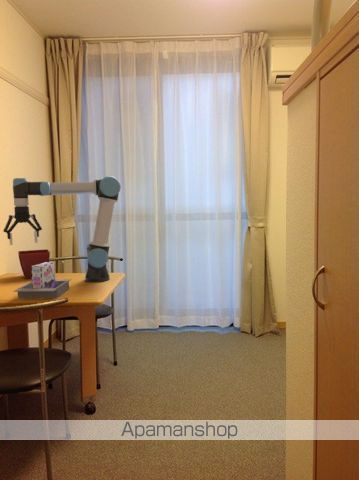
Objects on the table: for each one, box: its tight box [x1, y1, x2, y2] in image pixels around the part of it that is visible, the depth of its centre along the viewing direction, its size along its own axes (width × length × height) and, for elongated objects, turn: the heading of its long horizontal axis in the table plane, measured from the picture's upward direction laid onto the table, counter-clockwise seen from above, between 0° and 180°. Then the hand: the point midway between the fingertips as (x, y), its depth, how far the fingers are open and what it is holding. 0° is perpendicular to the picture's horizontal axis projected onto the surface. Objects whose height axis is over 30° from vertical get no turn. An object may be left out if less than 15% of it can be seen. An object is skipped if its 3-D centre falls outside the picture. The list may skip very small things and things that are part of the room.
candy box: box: [31, 261, 56, 288], centre depth 201 cm, size 14×6×16 cm, turn 168°
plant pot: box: [17, 249, 51, 279], centre depth 250 cm, size 19×19×17 cm
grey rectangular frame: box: [13, 278, 72, 299], centre depth 202 cm, size 20×27×5 cm
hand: (24, 243), depth 212 cm, fingers open, 13 cm apart
